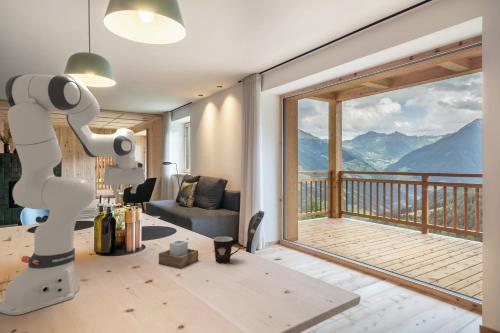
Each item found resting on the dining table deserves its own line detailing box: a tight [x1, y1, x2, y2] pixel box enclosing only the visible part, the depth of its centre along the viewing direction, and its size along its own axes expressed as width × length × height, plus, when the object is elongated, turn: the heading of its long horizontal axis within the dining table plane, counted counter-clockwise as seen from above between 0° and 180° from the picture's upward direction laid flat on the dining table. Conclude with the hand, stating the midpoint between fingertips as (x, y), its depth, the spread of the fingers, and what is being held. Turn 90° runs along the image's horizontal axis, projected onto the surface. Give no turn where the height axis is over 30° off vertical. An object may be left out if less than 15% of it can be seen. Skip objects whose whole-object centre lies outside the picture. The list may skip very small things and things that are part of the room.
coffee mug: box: [213, 236, 242, 264], centre depth 137 cm, size 12×9×10 cm
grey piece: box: [169, 239, 189, 257], centre depth 136 cm, size 6×5×8 cm
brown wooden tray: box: [158, 248, 199, 269], centre depth 136 cm, size 12×12×4 cm
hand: (124, 194), depth 142 cm, fingers open, 8 cm apart
